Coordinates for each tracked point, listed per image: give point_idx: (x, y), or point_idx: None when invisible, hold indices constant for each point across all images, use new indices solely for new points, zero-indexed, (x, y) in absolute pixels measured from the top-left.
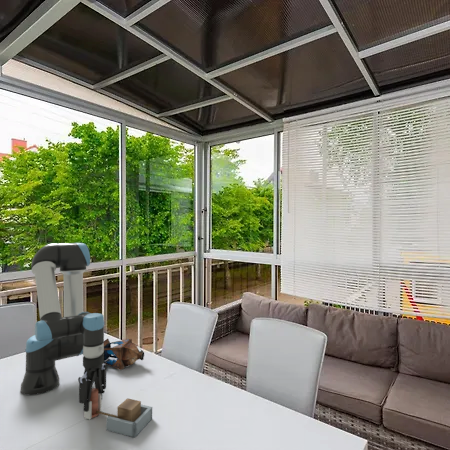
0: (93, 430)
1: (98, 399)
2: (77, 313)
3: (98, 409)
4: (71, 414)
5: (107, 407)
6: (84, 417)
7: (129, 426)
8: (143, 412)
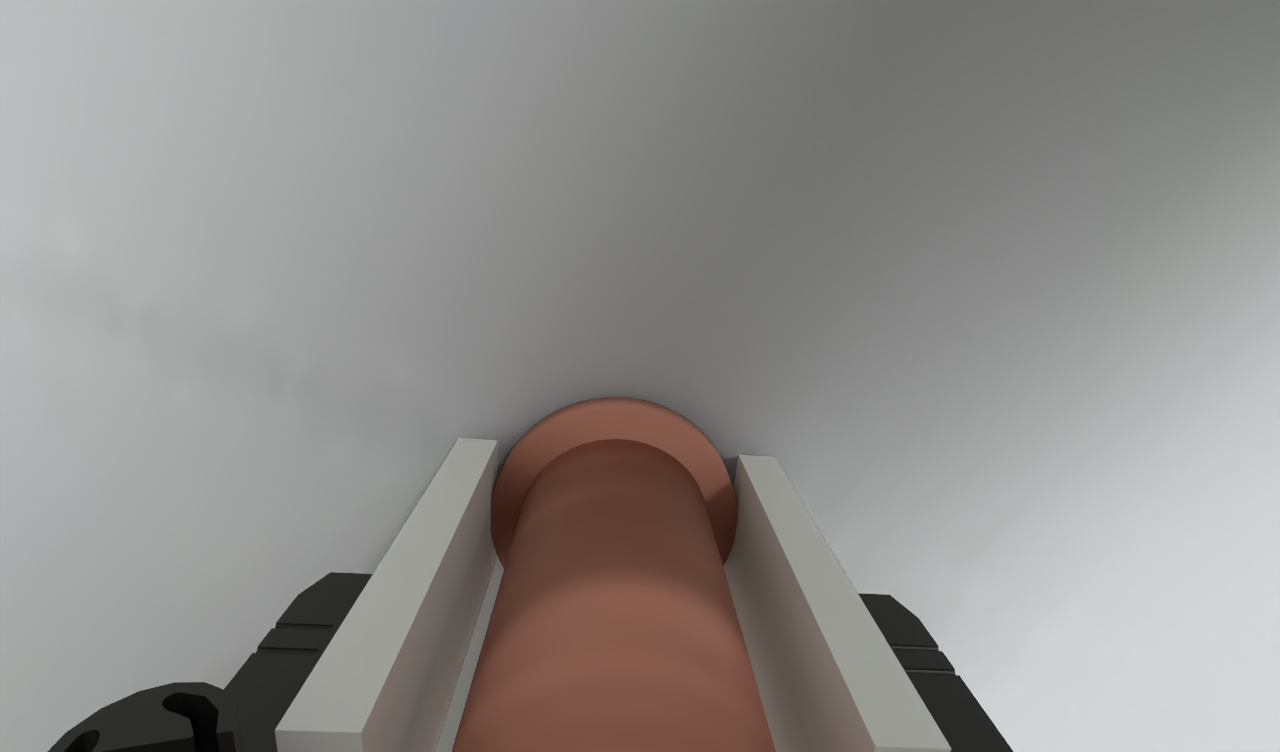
0: None
1: (784, 726)
2: None
3: (725, 560)
4: (492, 62)
5: (869, 593)
6: (456, 445)
7: None
8: None
